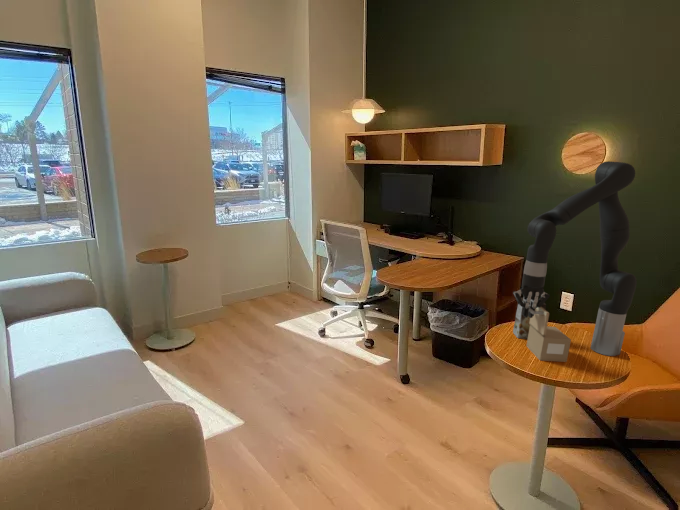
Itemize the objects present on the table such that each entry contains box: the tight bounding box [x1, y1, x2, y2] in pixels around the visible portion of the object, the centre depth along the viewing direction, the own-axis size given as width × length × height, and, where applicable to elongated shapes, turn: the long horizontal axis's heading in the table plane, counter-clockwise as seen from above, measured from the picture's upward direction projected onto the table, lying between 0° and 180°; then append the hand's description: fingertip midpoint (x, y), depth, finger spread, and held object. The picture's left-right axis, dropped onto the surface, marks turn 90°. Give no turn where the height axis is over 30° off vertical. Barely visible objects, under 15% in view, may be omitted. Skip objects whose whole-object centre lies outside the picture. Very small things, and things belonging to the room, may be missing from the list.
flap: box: [528, 305, 550, 337], centre depth 158 cm, size 10×12×5 cm
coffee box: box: [512, 297, 547, 340], centre depth 175 cm, size 9×6×16 cm
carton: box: [526, 325, 572, 363], centre depth 160 cm, size 10×12×9 cm
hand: (527, 316), depth 158 cm, fingers closed
